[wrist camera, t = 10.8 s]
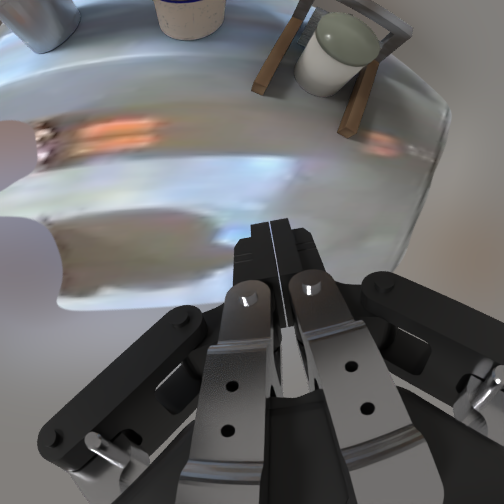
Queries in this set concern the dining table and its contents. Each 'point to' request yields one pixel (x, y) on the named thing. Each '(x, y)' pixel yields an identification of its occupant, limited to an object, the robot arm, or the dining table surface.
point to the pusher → (312, 25)
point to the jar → (335, 54)
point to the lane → (365, 79)
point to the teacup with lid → (189, 17)
